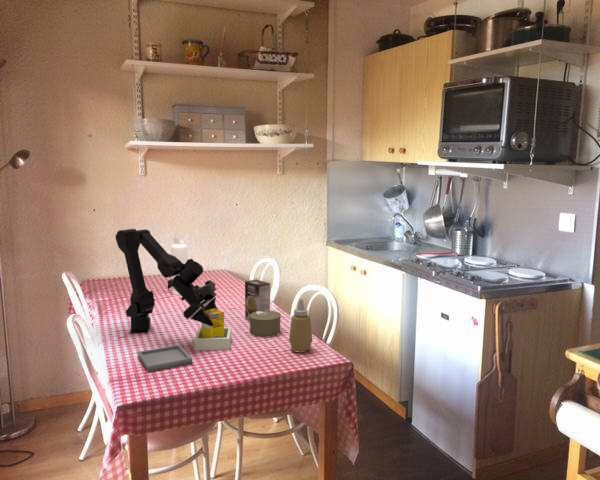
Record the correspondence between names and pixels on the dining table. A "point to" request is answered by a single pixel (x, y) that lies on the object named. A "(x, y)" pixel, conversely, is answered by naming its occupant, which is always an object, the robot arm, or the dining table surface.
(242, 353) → the dining table surface
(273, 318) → the can
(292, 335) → the squeeze bottle
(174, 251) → the bottle
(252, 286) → the coffee box
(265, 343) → the dining table surface
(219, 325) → the supplement box
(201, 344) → the white square frame
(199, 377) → the dining table surface
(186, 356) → the tray
